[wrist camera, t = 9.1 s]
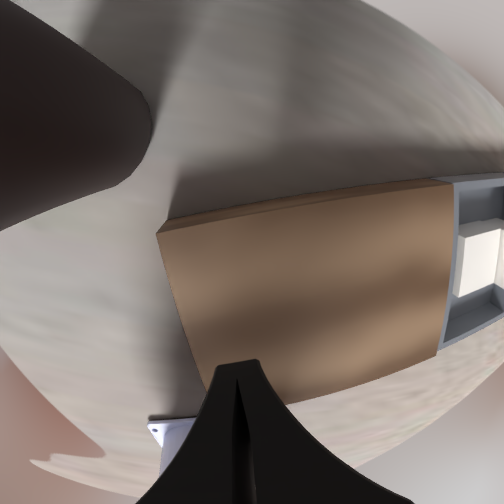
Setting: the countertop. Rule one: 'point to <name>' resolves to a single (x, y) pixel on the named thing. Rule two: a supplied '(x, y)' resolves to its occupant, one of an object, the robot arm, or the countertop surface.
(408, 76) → the countertop surface
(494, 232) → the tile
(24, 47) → the bottle
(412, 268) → the walnut board
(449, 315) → the box
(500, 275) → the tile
